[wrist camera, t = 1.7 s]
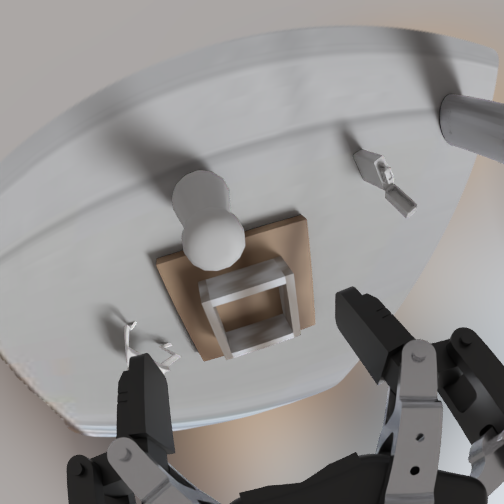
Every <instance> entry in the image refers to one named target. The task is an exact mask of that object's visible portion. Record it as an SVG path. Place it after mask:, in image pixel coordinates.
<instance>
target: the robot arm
mask: <svg viewBox="0 0 504 504" xmlns="http://www.w3.org/2000/svg"><path fill="white" fill-rule="evenodd" d="M440 124H441V130H442V133H443V136H444V138H445V140H446V141H447V142H448V143H449V144H450V145H453V146H456V147H459V148H462V149H465V150H468V151H471V152H474V153H476V154H479V155H482V156H485V157H488V158H490V159H493V160H496V161H498V162H500V163H503V164H504V104H503V103H499V102H494V101H490V100H485V99H480V98H474V97H469V96H463V95H456V94H449V95H447V96H446V97H445V99H444V100H443V102H442V105H441V110H440ZM335 319H336V324H337V326H338V329H339V330H340V332H341V333H342V335H343V336H344V338H345V339H346V340H347V342H348V343H349V345H350V346H351V347H352V349H353V350H354V352H355V353H356V355H357V356H358V358H359V359H360V360H361V362H362V363H363V365H364V366H365V368H366V369H367V370H368V372H369V373H370V375H371V376H372V378H373V379H374V381H375V382H376V383H377V385H380V384H381V383H383V382H385V381H386V382H387V384H388V385H389V387H388V394H387V402H386V409H385V416H384V422H383V427H382V431H381V433H380V437H379V440H378V444H377V448H376V453H375V454H367V455H360V456H358V455H357V453H356V452H355V453H353V454H351V455H349V456H347V457H345V458H342V459H340V460H338V461H336V462H334V463H331V464H329V465H327V466H326V467H325V468H323V469H322V470H320V471H319V472H317V473H316V474H314V475H313V476H311V477H310V478H308V479H307V480H305V481H303V482H301V483H295V484H284V485H272V486H265V487H262V488H258V489H254V490H250V491H245V492H241V493H239V494H240V498H238V499H236V500H234V501H233V502H231V503H230V504H487V502H488V496H489V495H490V494H491V493H492V492H493V491H494V490H495V489H496V488H498V487H499V486H500V485H501V484H502V482H504V366H503V365H502V363H501V362H500V361H499V360H498V359H497V357H496V356H495V355H494V353H493V352H492V351H491V350H490V349H489V348H488V346H487V345H486V344H485V343H484V342H483V341H482V339H481V338H480V337H479V336H478V335H477V334H476V333H475V332H474V331H473V330H471V329H469V328H458V329H456V330H455V331H454V332H453V334H452V336H451V338H450V339H448V340H445V341H440V342H437V343H432V344H430V343H429V342H427V341H425V340H421V339H415V338H414V337H413V336H412V335H411V334H410V333H409V332H408V331H407V330H406V329H405V327H404V326H403V325H402V324H401V323H400V322H399V321H398V320H397V319H396V318H395V317H394V315H393V314H391V312H390V311H389V310H388V309H387V308H385V306H384V305H383V304H382V303H381V302H380V301H379V300H378V299H377V298H375V297H373V296H371V295H369V294H364V295H361V293H360V292H359V291H358V290H357V289H356V288H355V287H349V288H347V289H345V290H342V291H340V292H337V293H336V297H335ZM437 391H438V393H439V394H440V396H441V397H442V399H443V400H444V402H445V403H446V405H447V406H448V408H449V409H450V411H451V412H452V414H453V416H454V417H455V419H456V420H457V422H458V423H459V425H460V426H461V428H462V430H463V431H464V433H465V435H466V437H467V438H468V440H469V441H470V443H471V445H472V446H471V448H470V452H469V457H468V460H469V462H470V463H471V465H472V470H471V474H470V476H466V475H460V474H455V473H450V472H446V471H441V470H437V469H438V462H439V454H440V446H441V434H442V418H443V407H442V406H443V405H442V402H441V401H438V399H437ZM117 402H118V404H117V437H116V440H114V441H113V442H112V443H111V444H110V445H109V447H108V450H107V452H106V453H103V454H101V455H99V456H96V457H94V458H91V459H89V458H87V457H85V456H83V455H76V456H73V457H72V458H71V459H70V460H69V462H68V464H67V488H68V500H69V504H136V501H135V496H134V493H135V495H136V496H137V497H138V498H139V499H140V500H141V502H142V504H221V503H219V502H218V501H216V500H215V499H214V498H212V497H211V496H209V495H207V494H205V493H204V492H202V491H201V490H199V489H198V488H197V487H196V486H194V485H193V484H192V483H191V482H189V481H188V480H187V479H186V478H185V477H184V476H183V475H181V474H180V473H179V472H178V471H177V470H175V468H174V467H172V466H171V465H170V464H169V463H168V461H167V454H173V453H175V448H174V441H173V433H172V425H171V416H170V406H169V396H168V385H167V381H166V378H165V376H164V374H163V373H162V371H161V370H160V369H159V367H158V366H157V365H156V363H155V362H154V360H153V359H152V358H151V356H150V355H149V354H148V353H145V354H141V355H137V356H132V357H130V359H129V370H128V371H123V373H122V376H121V378H120V380H119V382H118V400H117Z"/></svg>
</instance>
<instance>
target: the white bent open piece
mask: <svg viewBox="0 0 504 504" xmlns="http://www.w3.org/2000/svg"><path fill="white" fill-rule="evenodd" d="M136 324H137V323H136V322H133V324H132V326H131V327H129V326H128V325H125V326H124V339H125V353H126V362H127V364H128V369H127V370H129V359H130V357H132V356H137V355H141V354H140V353H139V352H137V351H135V350H133V349H131V348H130V347H129V330H133V328H134V327H135V325H136ZM170 346H172V344H170V343H167V344H164V345H161V346H159V347H160V348H162V349H163V350H165V351H167V352H168V353H170V354H172V355H173V356H171V357H170V358H168V359H167V360H165V361H164V362H162V363H161V364H160V363H158V362H156V361H154V362H155V363H156V365H157V366H158V367H159V369H160V370H161V371H162V373H163V374H165V372H166V371H170V369H169V367H168V366H170V365H171V364H172V363H174V362H175V361H176V360H178V359H179V358H180V357H182V356H180V355H178V354H176V353H173V352H171V351H169V350H167V349H165V348H166V347H170Z"/></svg>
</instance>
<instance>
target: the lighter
mask: <svg viewBox="0 0 504 504" xmlns="http://www.w3.org/2000/svg"><path fill="white" fill-rule="evenodd" d="M353 157H354V159H355V162H356V164H357V166H358V168H359V171H360V173H361V175H362V178H363V180H364V181H366V182H368V183H371V184H373V185H375V186H377V187H379V188H381V189H383V190H385V198H386V199H387V200H388V201H389V202H390V203H391V204H392V205H393V206H394V207H395V208H396V209H397V210H398V211H399V212H400V213H401V214H402V215H403V216H404V217H405V218H409V217H410V216H412V215H413V214H414V213H415V212H416V208H417V204H416V203H415V202H414V201H413V200H412V199H411V198H409V197H408V196H407V195H406V194H405V193H404V192H403V191H402V190H401V189H400V188H399V187H397V186H396V185H395V184H393V181H394V176H393V173H392V170H391V167H388V165H387V162H386V160H385V157H384V156H382V155H379V154H376V153H373V152H369V151H366V150H363V149H361V150H359V151H358V152H356V153H355V154H354V155H353Z"/></svg>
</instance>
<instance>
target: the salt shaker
mask: <svg viewBox="0 0 504 504" xmlns="http://www.w3.org/2000/svg"><path fill="white" fill-rule="evenodd" d="M172 203H173V210H174V211H175V213H176V215H177V217H178V218H179V220H180V222H181V224H182V225H183V227H184V230H183V233H182V244H183V251H184V253H185V255H186V256H187V258H188V259H189V260H190V261H191V263H192V264H193V265H195V266H197V267H199V268H201V269H203V270H205V271H219V270H222V269H225V268H227V267H230V266H231V265H232V264H234V263H235V262H236V261H237V260H238V259H239V258H240V257H241V254H242V252H243V250H244V248H245V233H244V228H243V227H242V225H241V223H240V222H239V220H238V218H237V217H236V216H235V215H234V214H232V213H231V205H230V191H229V188H228V186H227V184H226V183H225V181H224V179H223V178H222V177H220V176H218V175H217V174H215V173H213V172H210V171H202V170H197V171H194V172H192V173H189V174H187V175H185V176H184V177H183V178H182V179H181V180H180V181H179V182H178V183H177V184H176V186H175V189H174V192H173V195H172Z"/></svg>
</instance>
